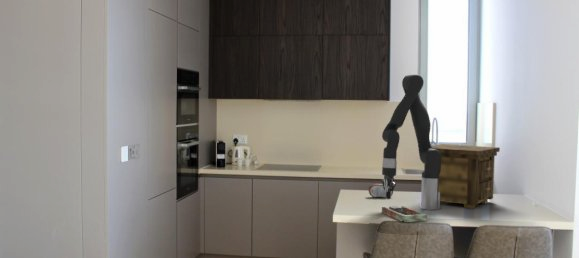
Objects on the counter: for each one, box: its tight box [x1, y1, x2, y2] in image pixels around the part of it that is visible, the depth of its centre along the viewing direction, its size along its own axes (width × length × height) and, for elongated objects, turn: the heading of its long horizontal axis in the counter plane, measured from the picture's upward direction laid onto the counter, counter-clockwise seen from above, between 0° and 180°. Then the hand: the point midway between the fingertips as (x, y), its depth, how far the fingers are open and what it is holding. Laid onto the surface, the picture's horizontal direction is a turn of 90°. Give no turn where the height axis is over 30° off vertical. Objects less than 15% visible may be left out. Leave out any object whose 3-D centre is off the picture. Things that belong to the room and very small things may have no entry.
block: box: [388, 205, 403, 214], centre depth 302 cm, size 5×5×4 cm
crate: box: [423, 143, 500, 209], centre depth 336 cm, size 35×35×33 cm
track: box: [381, 205, 428, 223], centre depth 293 cm, size 13×24×3 cm, turn 17°
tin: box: [368, 183, 394, 198], centre depth 352 cm, size 15×3×8 cm, turn 92°
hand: (388, 198), depth 309 cm, fingers closed
